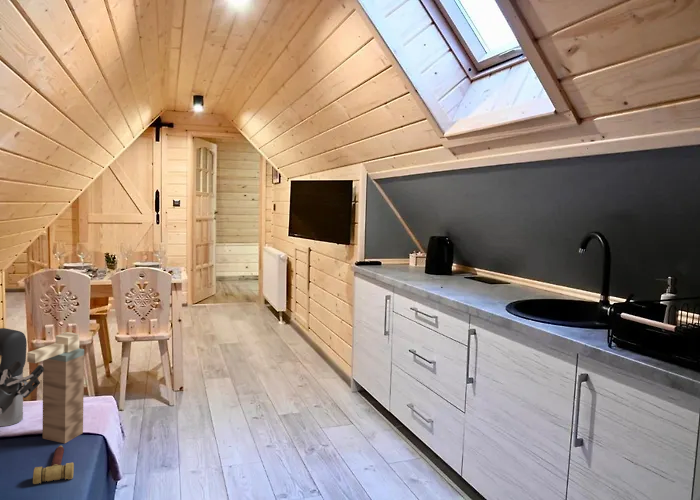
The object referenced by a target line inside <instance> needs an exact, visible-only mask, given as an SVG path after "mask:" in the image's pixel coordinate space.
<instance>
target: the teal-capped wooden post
mask: <svg viewBox="0 0 700 500" xmlns="http://www.w3.org/2000/svg"><path fill="white" fill-rule="evenodd" d="M42 366H43V368H44V371H43V372H42V440H43V439H44V440H48V441H52V442H55V443H61V444H66V443H68V442H70V441H72V440H73V439H75V438H77V437H79V436H80V435H82V434H83V433H84V395H85V394H84V391H85V390H84V389H85V387H84V386H85V384H84V383H85V376H84V375H85V349H84V348H80V347H79V349H76V350H74V351H71V352H68V353H67V352H65V353H62V354H59V355H56V356H54V357H51V358H48V359H46V360H43V361H42Z"/></svg>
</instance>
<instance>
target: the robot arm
mask: <svg viewBox="0 0 700 500" xmlns="http://www.w3.org/2000/svg"><path fill="white" fill-rule="evenodd" d="M27 341H28V340H27V337H26V335H25V333H24V332H23V331H21V330H18V329H17V330H16V329H10V328H6V327H0V427H7V426H12V425H15V424H17V423H18V424H19V422H21V421H22V420H23V418H24V399H26V398H27V397H29V396H30V395H31V393H32V392H33V391H34V390H35V389H36V388H38V386H39V385H40V384H41V382H40V380H39V379H38V378H39V377H40V376H41V375H43V371H44V368H43V364H38V366H36V367H35V368H34V370H33V371H32V372H31V373H30V374H29V375H26V376H25V377H24V367H25V365H26V362H27V343H28V342H27Z"/></svg>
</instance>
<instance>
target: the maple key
mask: <svg viewBox="0 0 700 500" xmlns="http://www.w3.org/2000/svg"><path fill="white" fill-rule="evenodd" d="M79 348H80V333H75V332H70V331H69V332H68V331H66V332H64V333H59V334H57V335H55V342H54V343H52V344H48V345H46V346H41V347H40V348H36V349H33V350H31V351H26V362H27V363H31V364H38V363H40V362H43V360H46V359H48V358H51V357H54V356H56V355H59V354H62V353H65V352H67V353H68V352H71V351H74V350H76V349H79Z"/></svg>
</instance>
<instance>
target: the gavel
mask: <svg viewBox="0 0 700 500" xmlns="http://www.w3.org/2000/svg"><path fill="white" fill-rule="evenodd" d="M53 453H54V454H53V457H52V461H51V465H50V466H46V467H43V466H35V467H34V469H33V473H32V484H33V485H39V483H40V484H42V482H45V483H46V481H47V482H54V481H61V480H63V479H64V480H65V481H66V479H68V480H73V478H74V472H75V470H74V468H75V464H74V462H67V463H65V464H64V465H63V464H62V461H63V456H64V453H65V448H64V447H63V445H59V446H58V447H56V448H55V450H54V452H53ZM60 479H61V480H60ZM53 480H54V481H53Z"/></svg>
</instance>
